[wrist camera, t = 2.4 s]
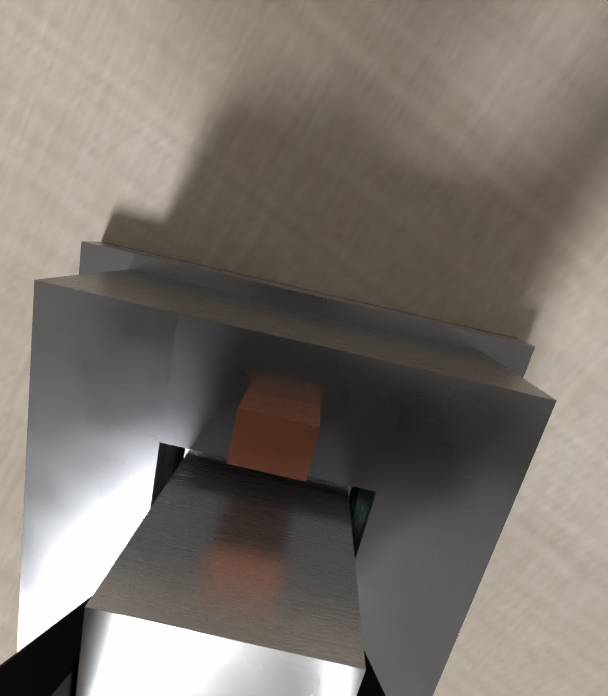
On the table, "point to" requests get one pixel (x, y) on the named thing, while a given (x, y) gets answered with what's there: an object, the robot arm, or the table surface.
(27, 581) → the housing
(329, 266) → the table surface
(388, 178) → the table surface
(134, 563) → the column
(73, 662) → the robot arm
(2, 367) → the table surface
